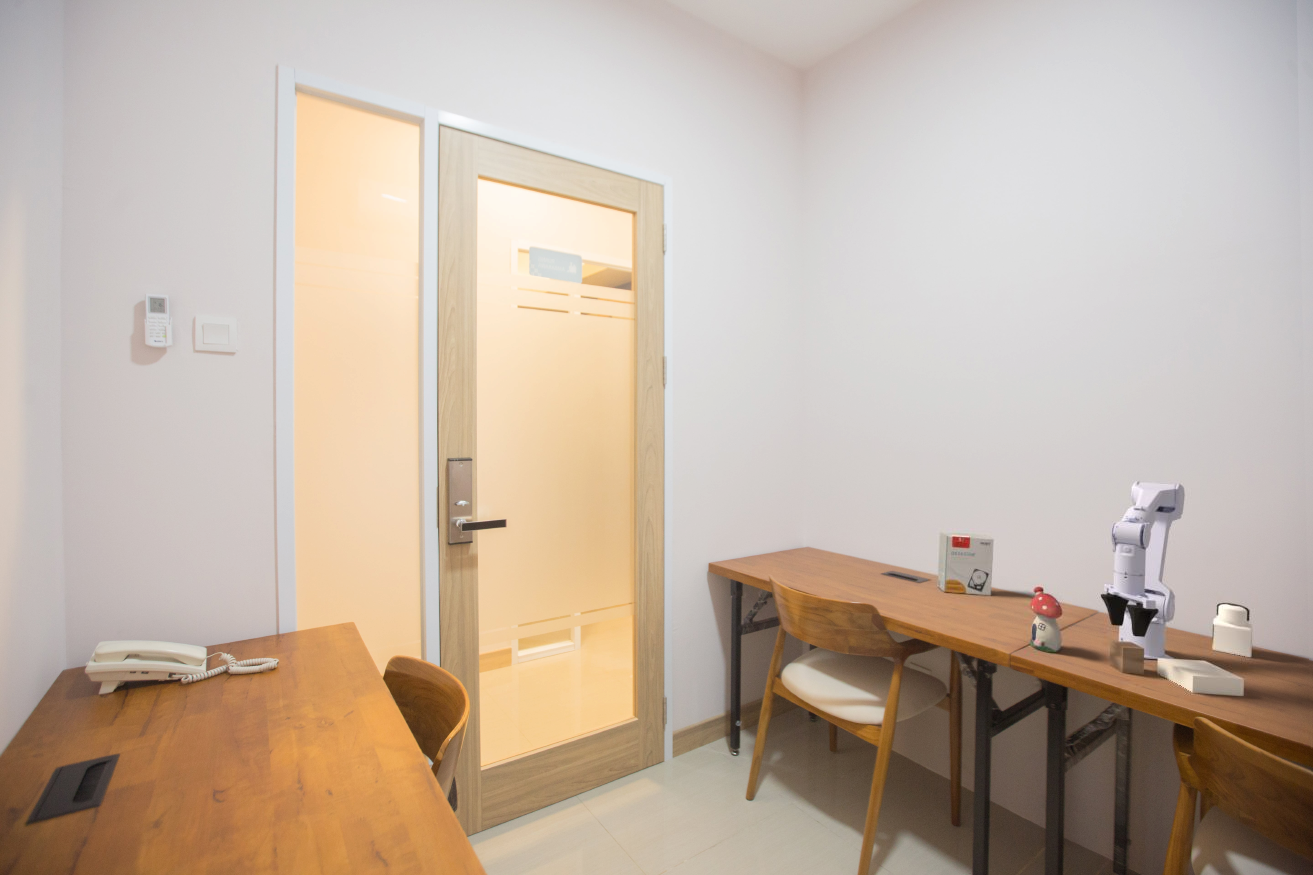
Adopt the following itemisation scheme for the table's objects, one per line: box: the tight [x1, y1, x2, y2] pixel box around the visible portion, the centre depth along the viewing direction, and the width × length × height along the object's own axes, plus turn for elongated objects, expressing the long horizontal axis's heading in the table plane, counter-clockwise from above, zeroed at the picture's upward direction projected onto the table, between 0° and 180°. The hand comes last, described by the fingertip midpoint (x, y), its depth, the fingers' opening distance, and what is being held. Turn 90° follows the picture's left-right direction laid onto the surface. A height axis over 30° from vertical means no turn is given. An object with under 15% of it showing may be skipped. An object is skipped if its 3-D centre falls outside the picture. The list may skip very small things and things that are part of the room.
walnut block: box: [1109, 640, 1145, 675], centre depth 136 cm, size 4×4×6 cm
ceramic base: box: [1156, 658, 1245, 697], centre depth 129 cm, size 10×10×4 cm
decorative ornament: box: [1029, 586, 1063, 653], centre depth 150 cm, size 9×6×15 cm
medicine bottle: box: [1211, 602, 1253, 658], centre depth 151 cm, size 7×7×12 cm
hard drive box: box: [937, 531, 995, 597], centre depth 203 cm, size 16×8×20 cm, turn 81°
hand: (1127, 630), depth 136 cm, fingers open, 7 cm apart
